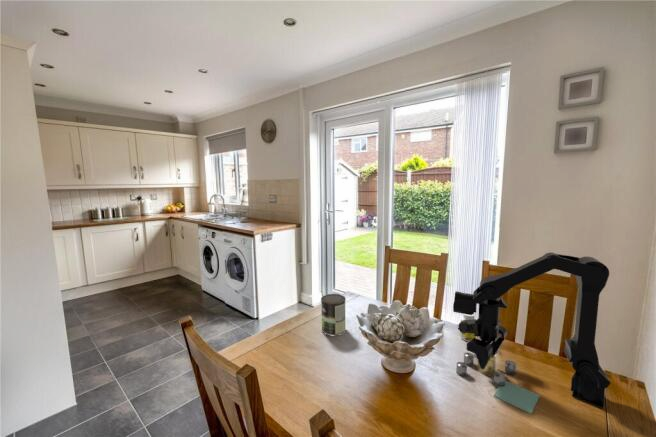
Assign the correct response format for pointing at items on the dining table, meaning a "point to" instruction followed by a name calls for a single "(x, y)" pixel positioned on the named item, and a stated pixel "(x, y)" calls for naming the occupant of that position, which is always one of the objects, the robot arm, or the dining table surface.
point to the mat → (517, 396)
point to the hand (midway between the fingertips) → (486, 363)
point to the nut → (488, 367)
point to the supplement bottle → (467, 335)
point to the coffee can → (333, 314)
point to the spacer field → (498, 377)
